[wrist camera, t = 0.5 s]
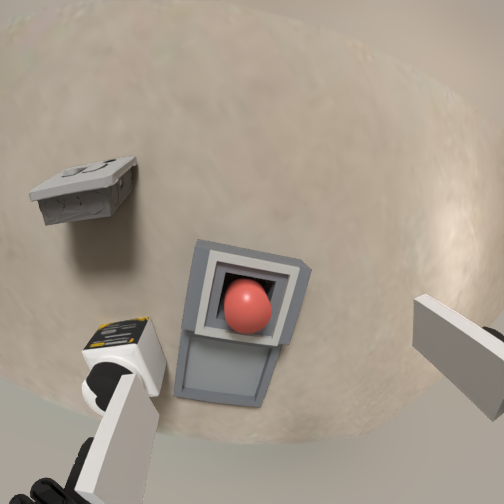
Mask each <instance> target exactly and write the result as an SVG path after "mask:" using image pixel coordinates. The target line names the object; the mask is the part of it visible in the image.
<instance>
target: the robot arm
mask: <svg viewBox="0 0 504 504" xmlns="http://www.w3.org/2000/svg"><path fill="white" fill-rule="evenodd" d="M412 346H413V347H414V348H415V349H417V350H418V351H419V352H420V353H421V354H422V355H423V356H424V357H425V358H426V359H427V360H429V361H430V362H431V363H432V364H433V365H434V366H435V367H436V368H437V369H438V370H439V371H440V372H441V373H443V374H444V375H445V376H446V377H447V378H448V379H449V380H450V381H451V382H452V383H453V384H454V385H455V386H456V387H457V388H458V389H459V390H460V391H461V392H463V393H464V394H465V395H466V396H467V397H468V398H469V399H470V400H471V401H472V402H473V403H474V404H475V405H476V406H477V407H478V408H479V409H480V410H481V411H482V412H483V413H484V414H485V415H486V416H487V417H488V418H489V419H490V420H491V421H492V422H493V421H494V420H496V419H497V418H498V417H499V416H500V415H502V414H503V413H504V336H503V335H502V334H501V333H500V332H498V331H496V330H494V329H491V328H488V327H485V326H484V327H483V328H481V327H479V326H478V325H476V324H474V323H473V322H471V321H470V320H468V319H466V318H465V317H463V316H462V315H460V314H458V313H457V312H455V311H454V310H452V309H450V308H449V307H447V306H445V305H444V304H442V303H440V302H439V301H437V300H435V299H434V298H432V297H430V296H429V295H427V294H424V295H421V296H419V297H417V298H414V320H413V344H412ZM159 416H160V415H159V413H158V412H157V410H156V408H155V407H154V405H153V403H152V401H151V400H150V398H149V396H148V394H147V393H146V391H145V389H144V387H143V385H142V383H141V382H140V380H139V378H138V376H137V374H136V373H135V374H128V375H122V376H121V379H120V381H119V383H118V385H117V387H116V389H115V392H114V394H113V396H112V398H111V400H110V403H109V405H108V407H107V409H106V412H105V414H104V416H103V419H102V421H101V423H100V426H99V428H98V430H97V433H96V435H95V438H93V437H90V438H88V439H87V440H86V441H85V443H84V444H83V445H82V446H81V448H80V451H79V453H78V457H77V458H76V460H75V464H74V465H73V468H72V470H71V473H70V475H69V477H68V480H67V483H66V485H65V488H64V489H63V488H62V487H61V486H60V485H59V484H58V483H57V482H55V481H54V480H52V479H51V478H42V479H39V480H38V481H36V482H35V483H34V484H33V486H32V488H31V491H30V497H31V498H32V499H33V500H34V501H36V502H34V501H32V500H31V499H30V498H29V497H28V496H26V495H24V494H18V495H15V496H14V497H13V498H12V499H11V501H10V503H9V504H142V503H143V497H144V491H145V486H146V480H147V474H148V469H149V464H150V459H151V454H152V449H153V444H154V439H155V435H156V430H157V425H158V421H159Z"/></svg>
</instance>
